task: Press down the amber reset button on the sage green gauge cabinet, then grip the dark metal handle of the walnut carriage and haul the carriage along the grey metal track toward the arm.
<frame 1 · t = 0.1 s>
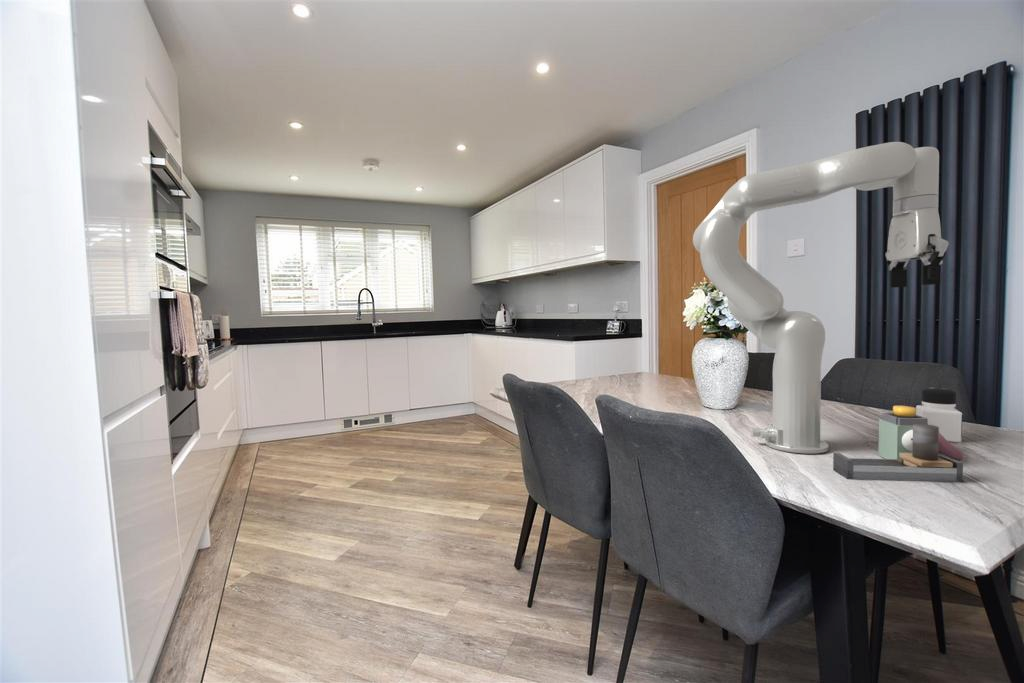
hand: (913, 285, 102), 37 cm above the table, tool pointing down, fingers open, 9 cm apart
gauge cabinet: (903, 460, 96), on the table
track: (895, 475, 87), on the table
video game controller: (936, 454, 100), on the table
reset button: (904, 411, 96), point 10 cm above the table, slide at 0.0 cm
medicine bottle: (937, 438, 112), on the table
carriage: (925, 446, 86), point 6 cm above the table, slide at 5.0 cm
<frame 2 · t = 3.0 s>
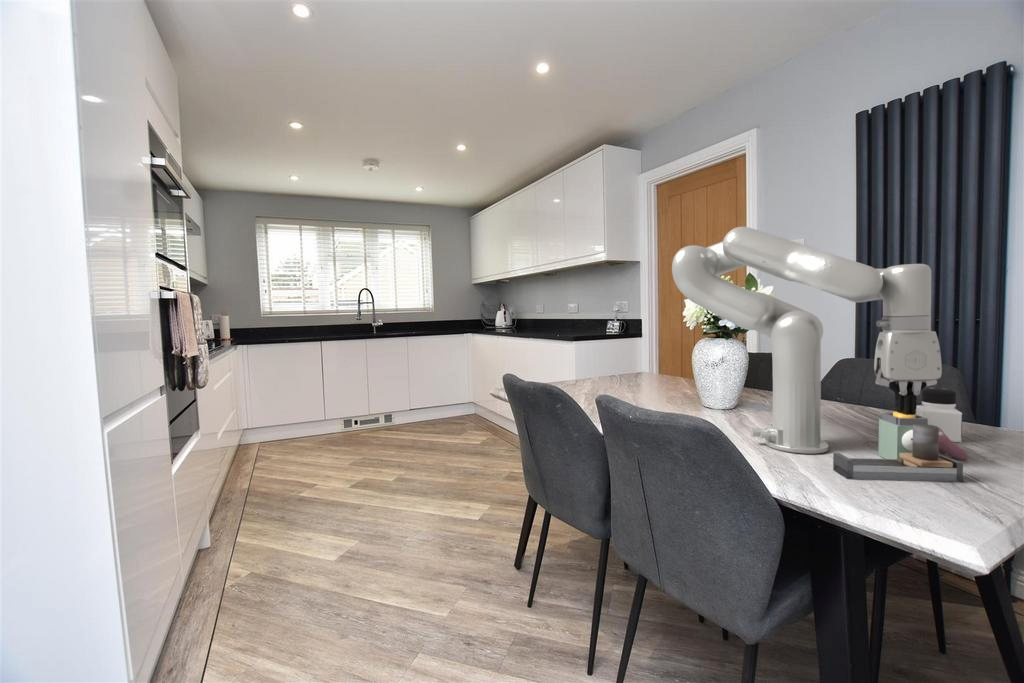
hand: (905, 413, 95), 10 cm above the table, tool pointing down, fingers closed
reset button: (904, 417, 96), point 9 cm above the table, slide at 1.3 cm, touching gripper
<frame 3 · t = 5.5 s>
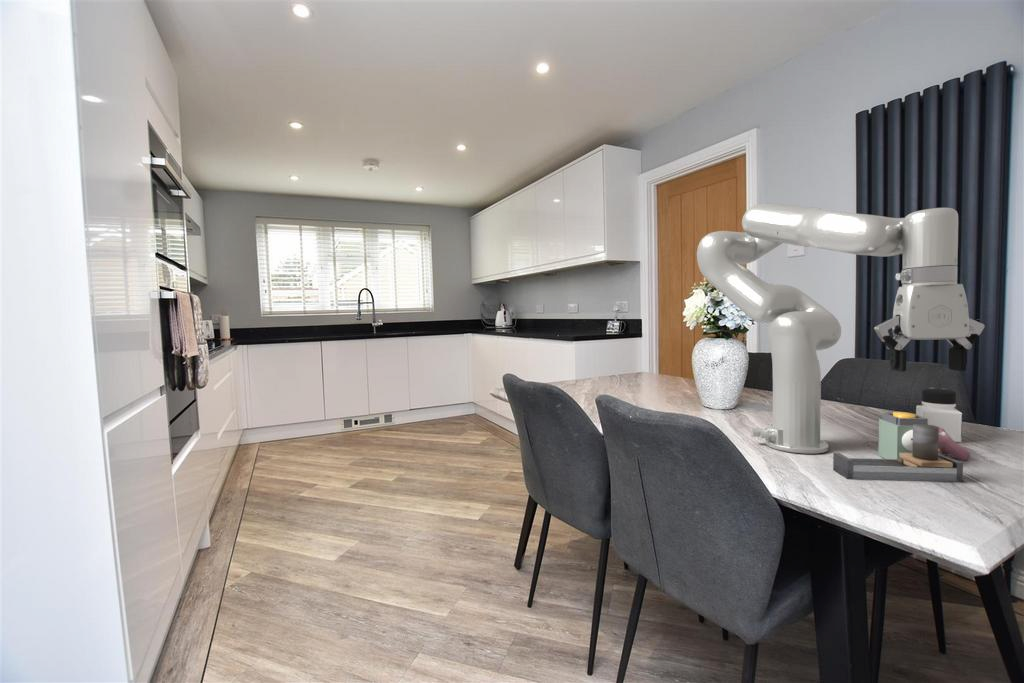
hand: (927, 370, 86), 20 cm above the table, tool pointing down, fingers open, 9 cm apart
reset button: (904, 417, 96), point 9 cm above the table, slide at 1.3 cm
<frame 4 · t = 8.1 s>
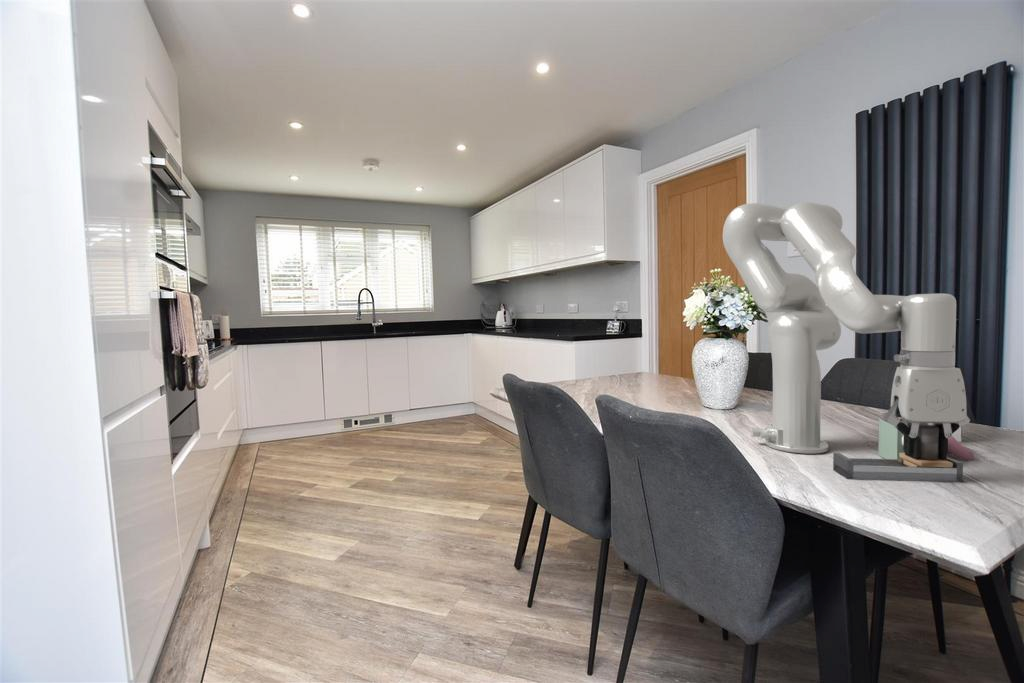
hand: (925, 456, 86), 4 cm above the table, tool pointing down, fingers closed on carriage, 3 cm apart
carriage: (925, 446, 86), point 6 cm above the table, slide at 5.0 cm, touching gripper
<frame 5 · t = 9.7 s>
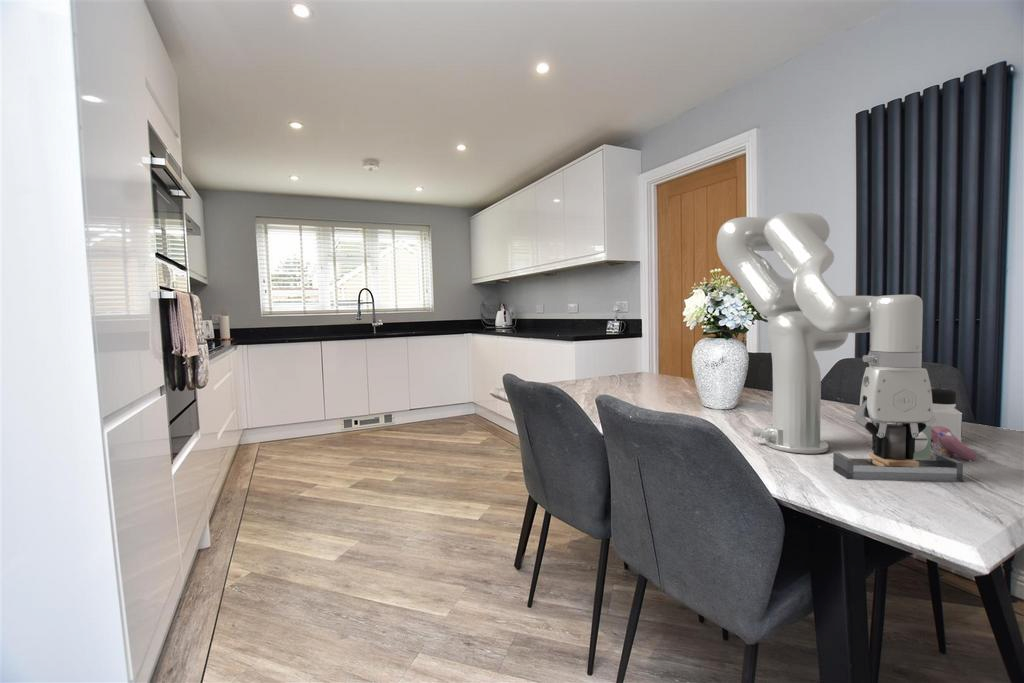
hand: (892, 455, 87), 4 cm above the table, tool pointing down, fingers closed on carriage, 3 cm apart
carriage: (893, 446, 87), point 6 cm above the table, slide at -0.4 cm, touching gripper
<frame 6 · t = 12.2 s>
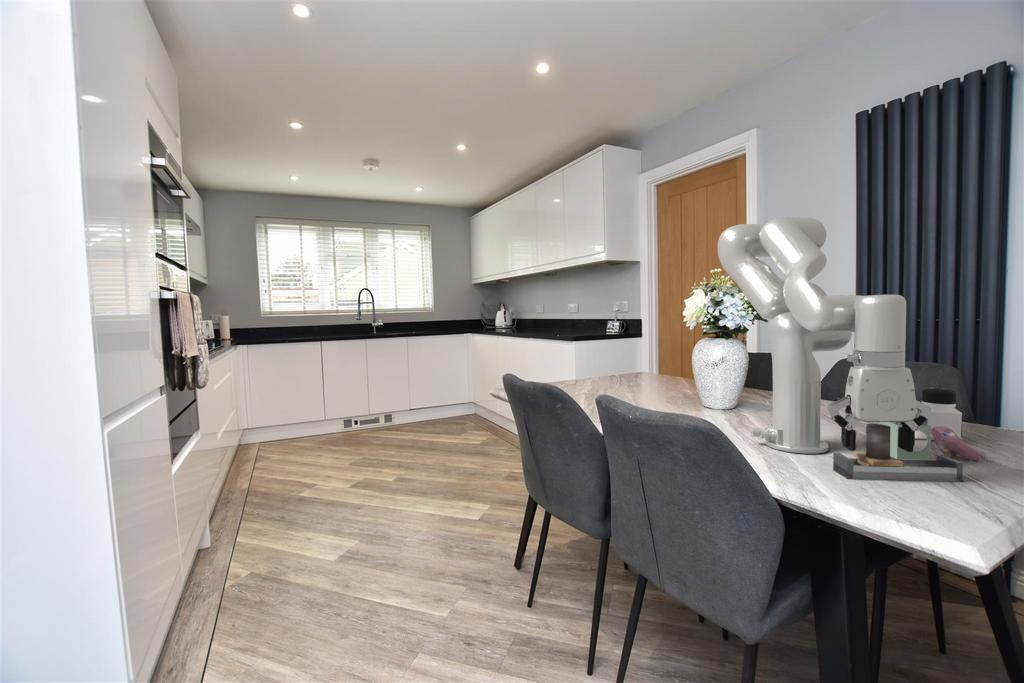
hand: (877, 449, 88), 5 cm above the table, tool pointing down, fingers open, 9 cm apart
carriage: (877, 446, 88), point 6 cm above the table, slide at -3.0 cm
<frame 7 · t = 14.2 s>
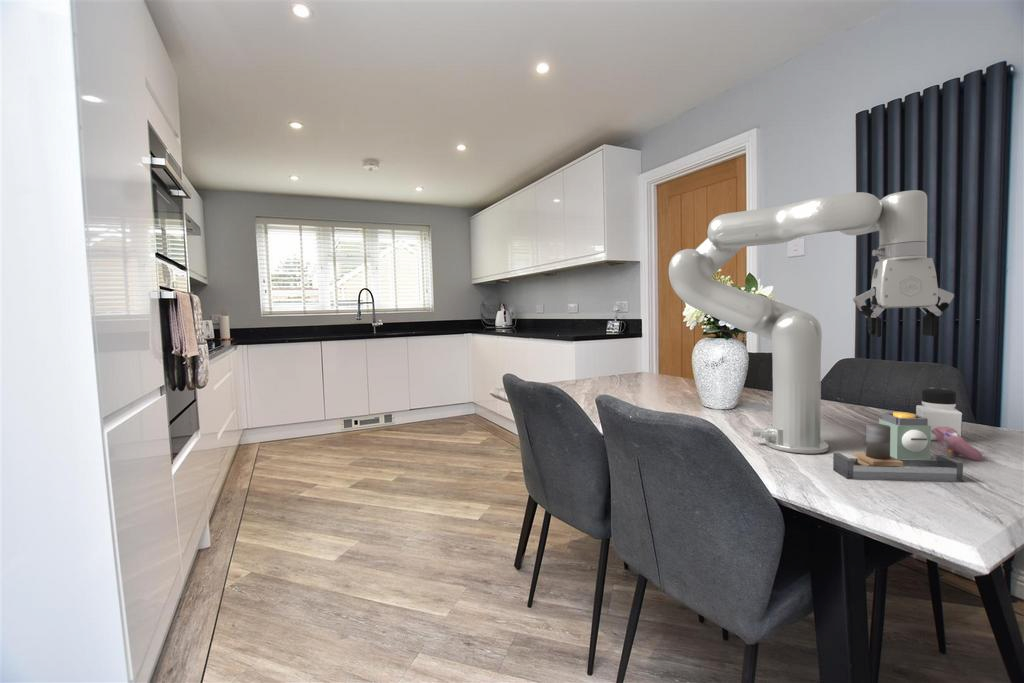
hand: (902, 336, 96), 26 cm above the table, tool pointing down, fingers open, 9 cm apart
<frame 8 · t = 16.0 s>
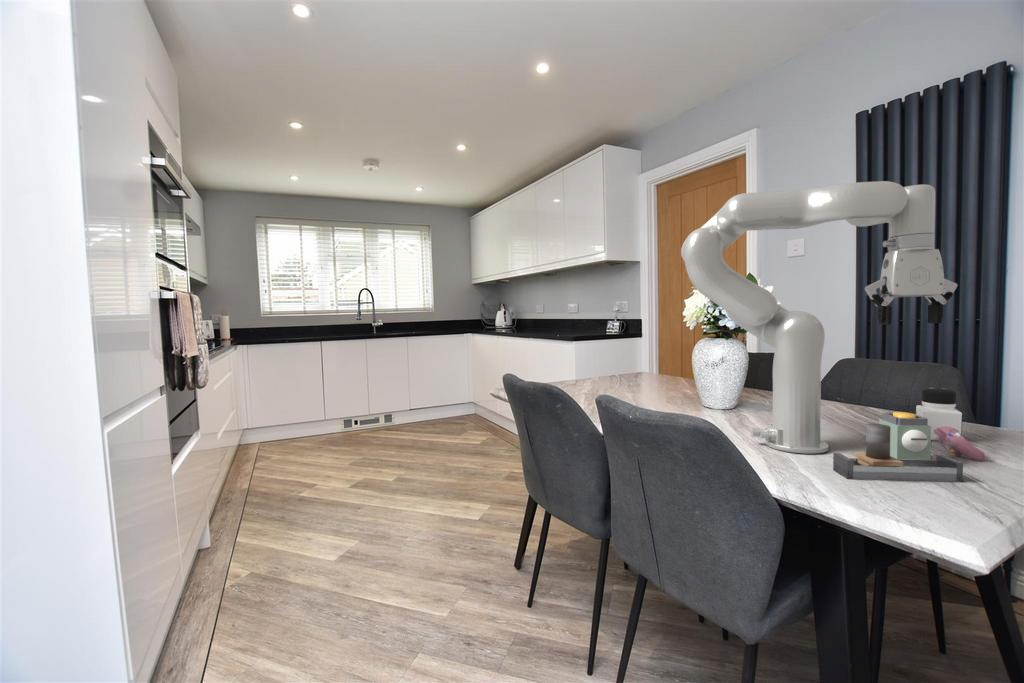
hand: (909, 323, 101), 28 cm above the table, tool pointing down, fingers open, 9 cm apart
at the end: reset button slide at 1.3 cm; carriage slide at -3.0 cm; the gripper is holding nothing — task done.
